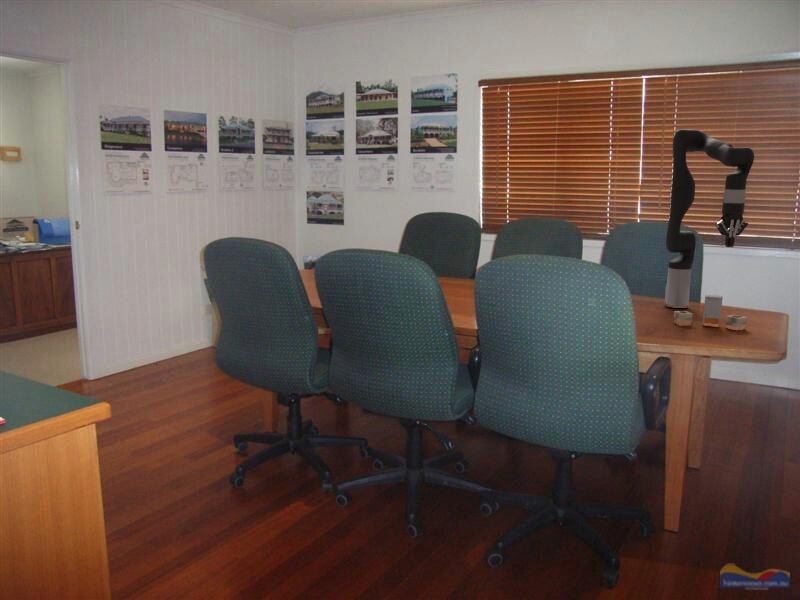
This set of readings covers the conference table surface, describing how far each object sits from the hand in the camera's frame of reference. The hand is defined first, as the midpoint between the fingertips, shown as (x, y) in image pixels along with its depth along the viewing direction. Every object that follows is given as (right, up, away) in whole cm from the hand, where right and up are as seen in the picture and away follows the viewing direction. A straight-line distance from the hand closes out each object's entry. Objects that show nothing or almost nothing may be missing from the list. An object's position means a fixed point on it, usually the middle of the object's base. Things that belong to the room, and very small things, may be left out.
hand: (729, 246), depth 257 cm
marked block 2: (0, -32, -4) cm, 32 cm away
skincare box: (-7, -31, 0) cm, 32 cm away
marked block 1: (-17, -30, +3) cm, 35 cm away
